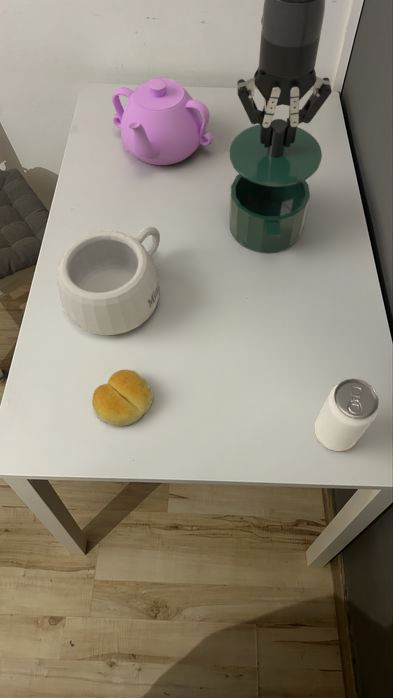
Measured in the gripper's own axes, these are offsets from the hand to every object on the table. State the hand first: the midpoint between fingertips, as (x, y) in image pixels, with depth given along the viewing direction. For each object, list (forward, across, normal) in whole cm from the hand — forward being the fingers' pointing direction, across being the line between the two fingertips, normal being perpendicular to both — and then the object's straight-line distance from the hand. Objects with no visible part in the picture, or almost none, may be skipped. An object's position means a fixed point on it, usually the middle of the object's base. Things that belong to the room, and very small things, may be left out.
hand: (276, 143), depth 78 cm
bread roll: (+19, -24, -36) cm, 47 cm away
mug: (+19, -26, -15) cm, 35 cm away
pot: (+18, 0, 0) cm, 19 cm away
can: (+19, +8, -40) cm, 45 cm away
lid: (+2, 0, 0) cm, 2 cm away
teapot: (+18, -21, +21) cm, 35 cm away
